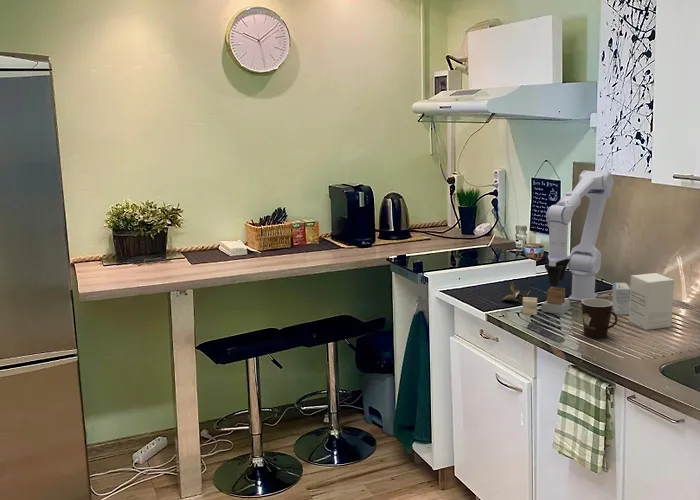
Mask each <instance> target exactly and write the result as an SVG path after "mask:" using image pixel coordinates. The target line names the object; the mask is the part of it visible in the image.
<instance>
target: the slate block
mask: <svg viewBox="0 0 700 500" xmlns="http://www.w3.org/2000/svg"><path fill="white" fill-rule="evenodd" d="M570 309H571V300H566V299H565V302H563V303H562V304H561V305H557V304H550V303H547V299H546V300H545V301H544V302H542V304H541V312H544V313H551V314H557V315H564V314H565V313H567V312H568V311H569V310H570Z"/></svg>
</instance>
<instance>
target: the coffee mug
mask: <svg viewBox="0 0 700 500" xmlns="http://www.w3.org/2000/svg"><path fill="white" fill-rule="evenodd" d="M580 303H581V312H582V313H581V315H582V325H583V327H582V328H583V335H584V336H585V337H587V338H589V339H593V340H594V339H595V340H597V339H598V340H600V339H606V338H607V336H608V331H609V329H611V328H613V327H615V326H616V324H617V323H618V316H617V314H615V312H614V311H612V310H613V308H612V305H613V303H612V300H608V299H605V298H597V297H596V298H589V299H584V300H582V301H580ZM611 315H612V316H613V317H614V322H613V324H611V325H610V321H611V317H612V316H611Z"/></svg>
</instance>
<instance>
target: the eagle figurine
mask: <svg viewBox="0 0 700 500" xmlns="http://www.w3.org/2000/svg"><path fill="white" fill-rule="evenodd" d="M509 288H510V290H511V292H512V293H513V294H509V295H506V296H504V297H503V298H501V302H503V301H510V300H513V299H514V300H516V301H518V302H521V305H522V306H523V297H528V296H529V294H531V292H532V290H531V289H530V290H529V291H528V292H527V291H526V290H525V291H524V293H523V294H521V293H520V291H519V289H518V287H517V286H515V283H514V282H513V281H511V282H510V283H509ZM520 297H521V298H520Z"/></svg>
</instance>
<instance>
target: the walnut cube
mask: <svg viewBox="0 0 700 500" xmlns="http://www.w3.org/2000/svg"><path fill="white" fill-rule="evenodd" d="M546 296H547V297H546V300H547V303H550V304H557V305H561V304H562V303H563V302H565V300H566V288H565V287H557V286H550V287H549V288H548V289H547V294H546Z"/></svg>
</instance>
